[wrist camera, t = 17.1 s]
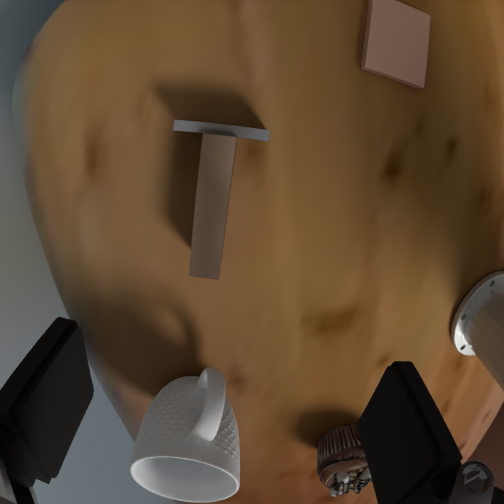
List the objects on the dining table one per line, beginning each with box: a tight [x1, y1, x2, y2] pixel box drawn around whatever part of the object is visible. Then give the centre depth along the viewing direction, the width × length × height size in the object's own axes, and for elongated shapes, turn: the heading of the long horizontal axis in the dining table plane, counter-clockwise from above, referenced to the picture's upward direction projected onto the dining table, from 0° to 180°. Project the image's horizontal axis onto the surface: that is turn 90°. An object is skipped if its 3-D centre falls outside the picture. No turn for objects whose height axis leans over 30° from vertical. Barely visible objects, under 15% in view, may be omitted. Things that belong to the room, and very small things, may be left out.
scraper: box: [173, 120, 270, 280], centre depth 26 cm, size 7×12×4 cm, turn 172°
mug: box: [130, 367, 240, 502], centre depth 30 cm, size 15×11×13 cm
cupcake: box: [317, 424, 372, 497], centre depth 37 cm, size 10×10×10 cm
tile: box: [360, 0, 430, 89], centre depth 22 cm, size 6×2×8 cm
